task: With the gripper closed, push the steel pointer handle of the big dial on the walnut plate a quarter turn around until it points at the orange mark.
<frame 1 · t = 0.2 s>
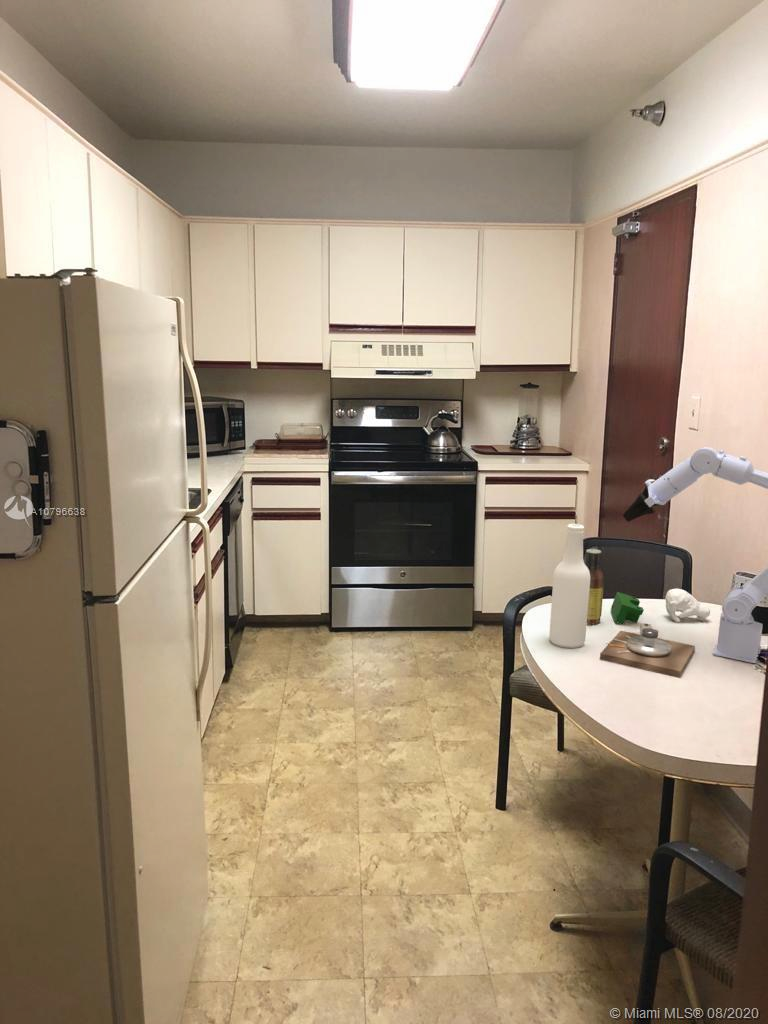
hand: (628, 514, 189), 31 cm above the table, tool tilted 45°, fingers open, 7 cm apart
clamp: (626, 619, 205), on the table
dial plate: (647, 655, 180), on the table
dial: (648, 637, 180), point 4 cm above the table, hinge at -70.0°
sauce bottle: (588, 622, 202), on the table
white lumpy piece: (686, 620, 205), on the table
white bottle: (566, 642, 187), on the table
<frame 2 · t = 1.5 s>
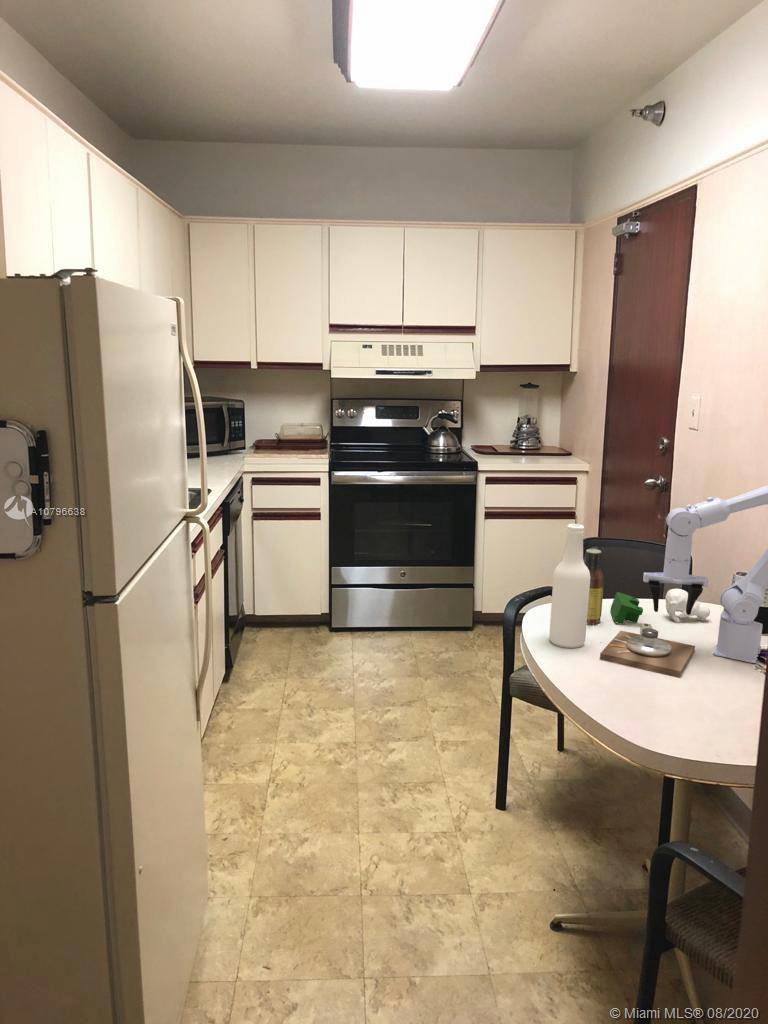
hand: (671, 612, 183), 9 cm above the table, tool pointing down, fingers open, 7 cm apart
nothing on the table moved.
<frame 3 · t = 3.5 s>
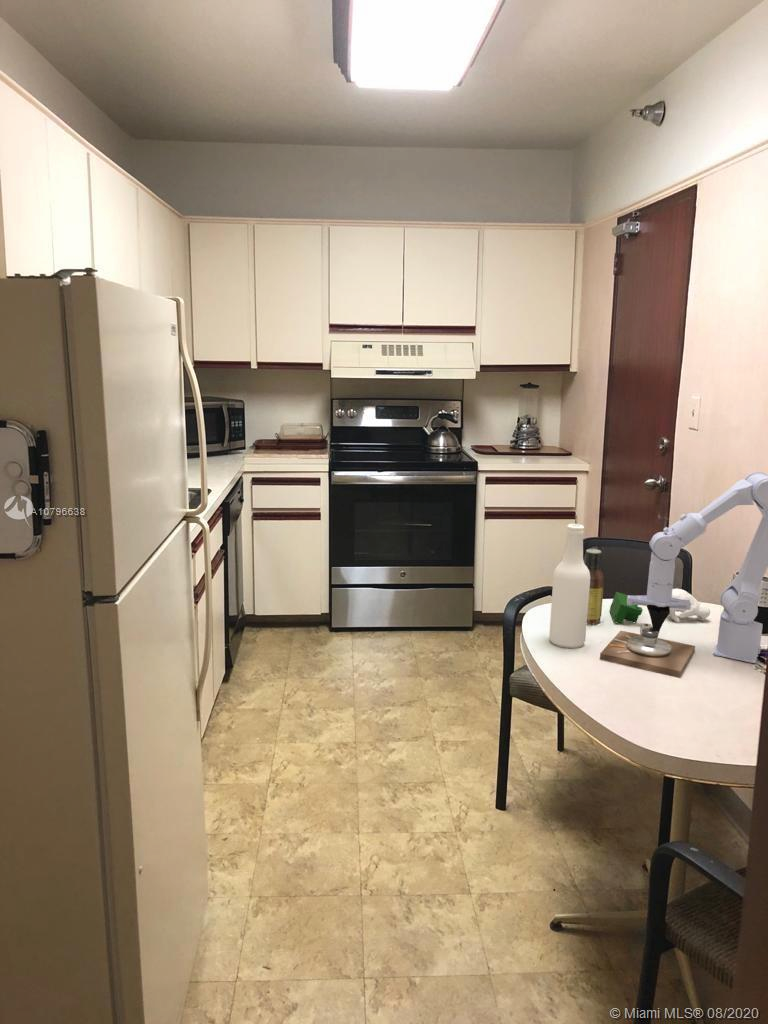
hand: (655, 634, 184), 3 cm above the table, tool pointing down, fingers closed
dial: (648, 637, 180), point 4 cm above the table, hinge at -69.9°, touching gripper
everything else where it was.
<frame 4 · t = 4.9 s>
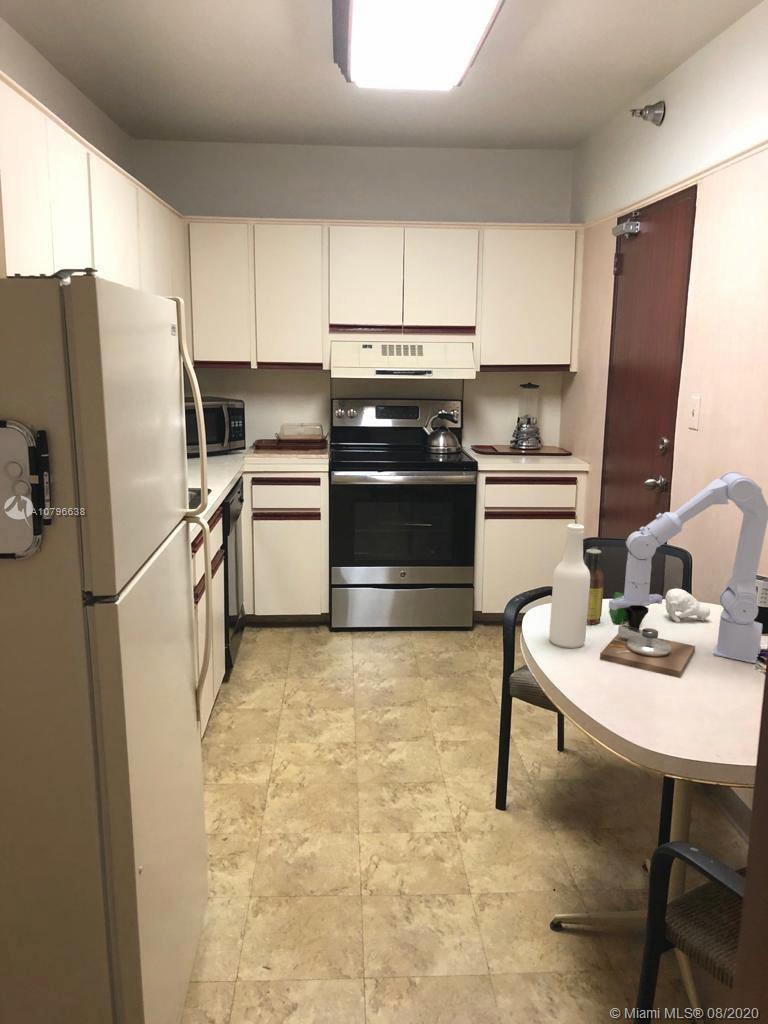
hand: (633, 633, 185), 3 cm above the table, tool pointing down, fingers closed, pressing on dial
dial: (644, 637, 180), point 4 cm above the table, hinge at -21.0°, touching gripper
everything else where it was.
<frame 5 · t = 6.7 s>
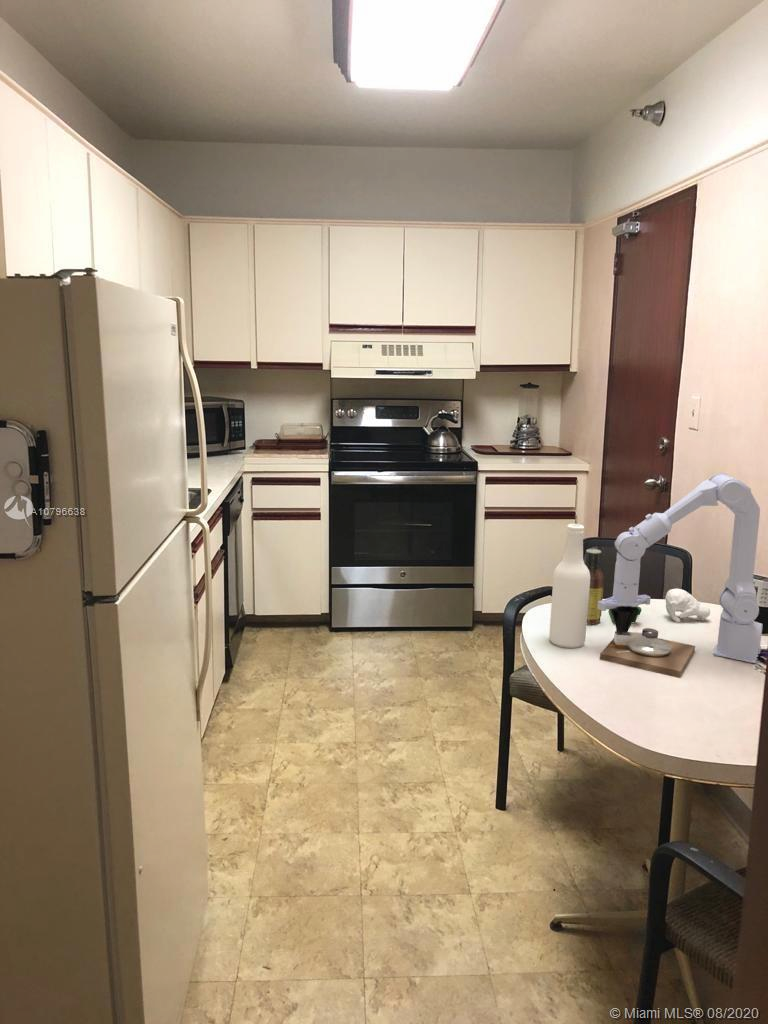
hand: (621, 634, 184), 3 cm above the table, tool pointing down, fingers closed
dial: (643, 639, 179), point 4 cm above the table, hinge at 26.7°
everything else where it was.
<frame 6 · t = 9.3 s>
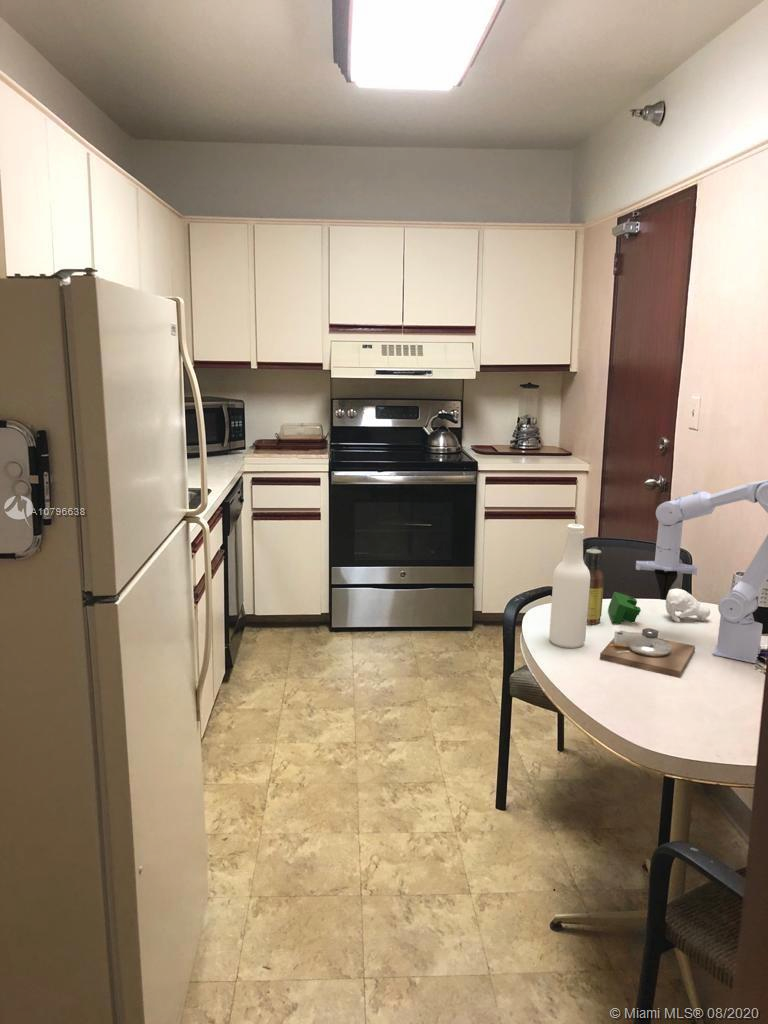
hand: (662, 598, 193), 9 cm above the table, tool pointing down, fingers closed
nothing on the table moved.
at the end: dial at +27° (first picture: -70°) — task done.
